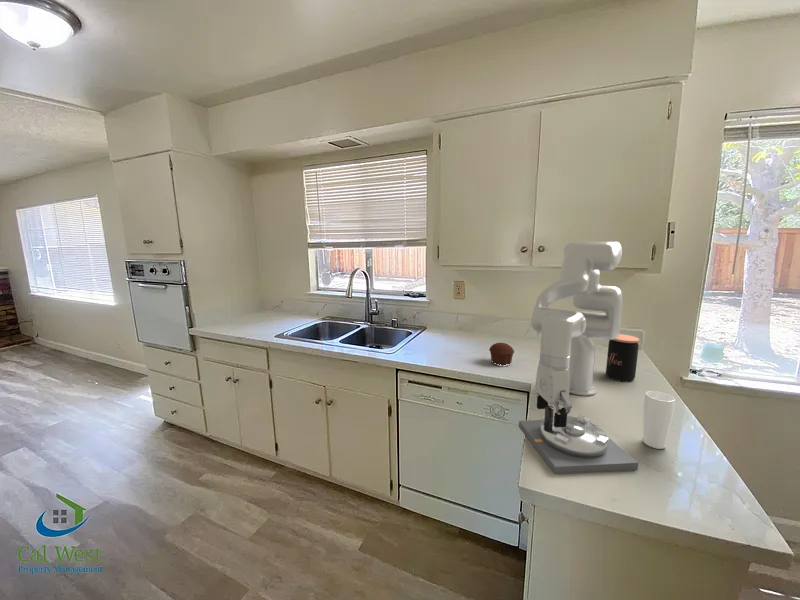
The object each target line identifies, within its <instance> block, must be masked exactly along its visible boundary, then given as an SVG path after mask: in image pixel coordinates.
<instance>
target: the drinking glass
mask: <svg viewBox="0 0 800 600" xmlns="http://www.w3.org/2000/svg"><path fill="white" fill-rule="evenodd" d="M675 405H676V399H675V398H674V396H672V395H671V394H668V393H666V392H661V391H656V390H648V391H646V392H645V394H644V399H643V411H642V412H643V419H642V421H643V423H642V424H643V425H642V427H643V428H642V442H643V443H644V445H646V446H649V447H650V448H654V449H657V450H662V449H665V448H666V446H667V441H668V435H669V432H670V428H671V424H672V421H673V417H674V414H675V413H674V412H675V407H676V406H675Z"/></svg>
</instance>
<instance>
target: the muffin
mask: <svg viewBox="0 0 800 600" xmlns="http://www.w3.org/2000/svg"><path fill="white" fill-rule="evenodd" d="M488 350H489V353H490V359H491V362H492V361H493V363H496V364H499V365H500V364H501V365H506V364H510V363H511V364H512V360H513V356H514V353H515V350H514V348H513V347H512V346H511V345H510V344H508V343H505V342H497V343H494V344H491V346H490V347H489V349H488ZM493 363H492V364H493ZM511 364H510V365H511Z"/></svg>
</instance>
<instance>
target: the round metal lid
mask: <svg viewBox="0 0 800 600" xmlns="http://www.w3.org/2000/svg"><path fill="white" fill-rule="evenodd" d="M554 410H555V406H553V405H550V404H548V405H547V406H545V409H544V415H543V416H542V417H541V420H542V422H541V429H540V434H541V437H542V438H543V440H544V441H545V442H546V443H547V444H549V445H550V446H551V447H553V448H555V449H557V450H559V451H561V452H563V453H566V454H570V455H573V456H578V457H598V456H601V455H603V454H604V453H605V452H606V451H607V445H608V440H609V438H610V437H609V436H608V435H607V433H606V432H605V431H604V430H603V429H602V428H601V427H599V426H598V425H596V424H594V423H592V422H591V419H590V418H589V417H585V416H583V415H580V414H579V415H578V416H577V417H575V416H569V415H567V423H566V427H554V413H555V411H554ZM590 422H591V423H590Z"/></svg>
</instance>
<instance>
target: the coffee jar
mask: <svg viewBox="0 0 800 600" xmlns="http://www.w3.org/2000/svg"><path fill="white" fill-rule="evenodd" d="M639 342H640V338H639V337H637V336H633V335H629V334H622V333H619V336H618V337H617V338H616V339H614V340H608V347H607V349H608V350H607V357H606V358H607V359H606V367H605V374H606V375H608V376H609V377H610V379H611V378H613V379H612V380H614V379H615V381H618V380H620V381H619V382H624V381H629V382H633V381H634V379H636V373H637V365H638V364H637V363H638V356H639V347H640V346H639ZM608 376H607V377H608ZM609 377H608V378H609Z"/></svg>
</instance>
